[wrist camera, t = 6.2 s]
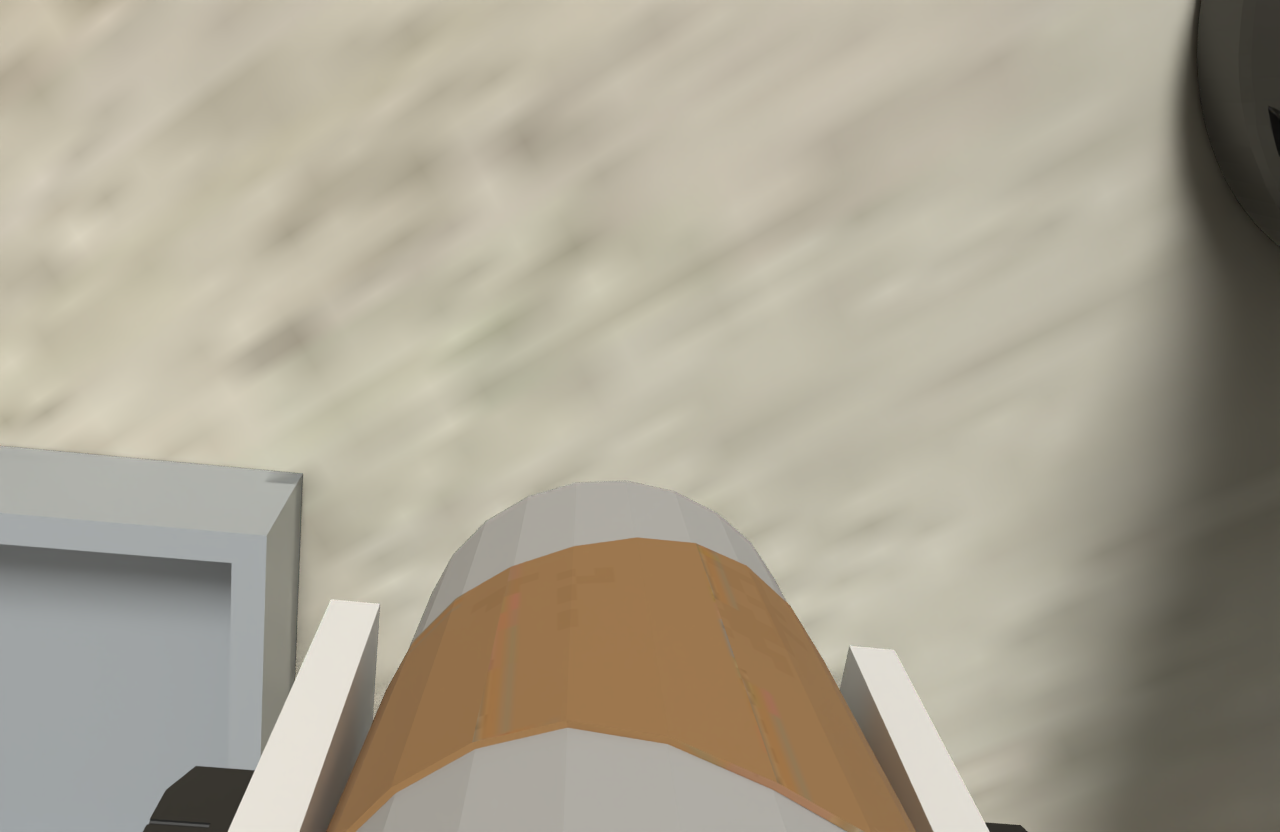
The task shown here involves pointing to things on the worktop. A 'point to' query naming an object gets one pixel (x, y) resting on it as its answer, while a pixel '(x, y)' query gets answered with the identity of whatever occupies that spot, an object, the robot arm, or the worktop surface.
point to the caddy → (137, 630)
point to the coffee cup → (613, 687)
